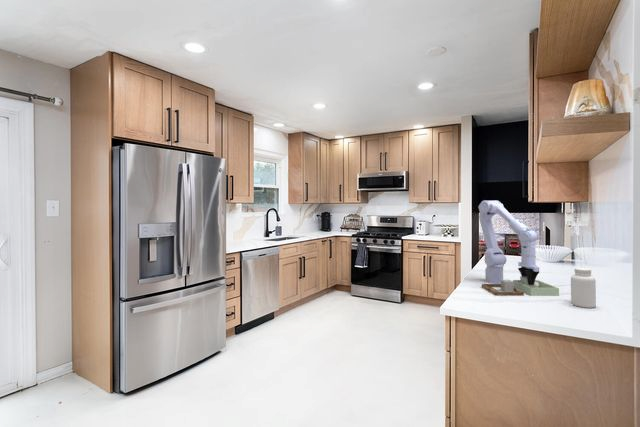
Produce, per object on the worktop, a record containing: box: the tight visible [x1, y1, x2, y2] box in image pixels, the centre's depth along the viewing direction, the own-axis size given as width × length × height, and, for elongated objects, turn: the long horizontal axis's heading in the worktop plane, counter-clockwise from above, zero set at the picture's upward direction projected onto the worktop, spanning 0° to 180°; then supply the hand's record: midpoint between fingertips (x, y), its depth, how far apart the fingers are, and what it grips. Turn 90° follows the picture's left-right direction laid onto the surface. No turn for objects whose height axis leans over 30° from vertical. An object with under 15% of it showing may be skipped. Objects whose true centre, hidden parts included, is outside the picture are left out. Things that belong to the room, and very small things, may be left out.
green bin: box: [512, 279, 560, 297], centre depth 155 cm, size 16×12×4 cm
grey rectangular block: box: [519, 275, 534, 288], centre depth 157 cm, size 4×4×5 cm
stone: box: [500, 279, 514, 292], centre depth 156 cm, size 4×4×5 cm
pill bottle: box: [570, 267, 597, 309], centre depth 134 cm, size 8×8×15 cm
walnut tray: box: [481, 283, 525, 297], centre depth 156 cm, size 16×12×2 cm
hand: (528, 283), depth 157 cm, fingers closed on grey rectangular block, 4 cm apart
